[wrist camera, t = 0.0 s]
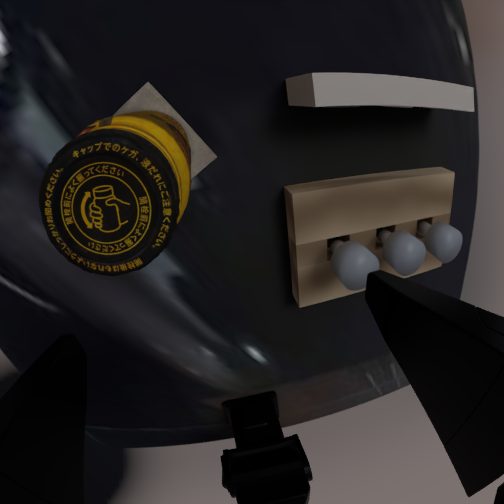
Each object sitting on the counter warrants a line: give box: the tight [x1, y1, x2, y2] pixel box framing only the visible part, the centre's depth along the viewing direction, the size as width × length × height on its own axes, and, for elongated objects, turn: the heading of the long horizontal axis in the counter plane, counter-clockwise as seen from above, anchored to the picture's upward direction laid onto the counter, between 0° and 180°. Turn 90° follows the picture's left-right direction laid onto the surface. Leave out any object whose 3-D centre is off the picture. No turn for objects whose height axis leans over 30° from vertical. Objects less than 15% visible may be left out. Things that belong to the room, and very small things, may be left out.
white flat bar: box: [285, 73, 474, 112], centre depth 18 cm, size 2×14×5 cm, turn 97°
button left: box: [330, 239, 379, 291], centre depth 22 cm, size 3×3×4 cm
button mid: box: [378, 229, 426, 276], centre depth 22 cm, size 3×3×4 cm
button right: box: [417, 221, 462, 263], centre depth 23 cm, size 3×3×4 cm
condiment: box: [39, 82, 217, 276], centre depth 14 cm, size 7×8×12 cm
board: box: [284, 167, 454, 308], centre depth 25 cm, size 10×16×2 cm, turn 97°
